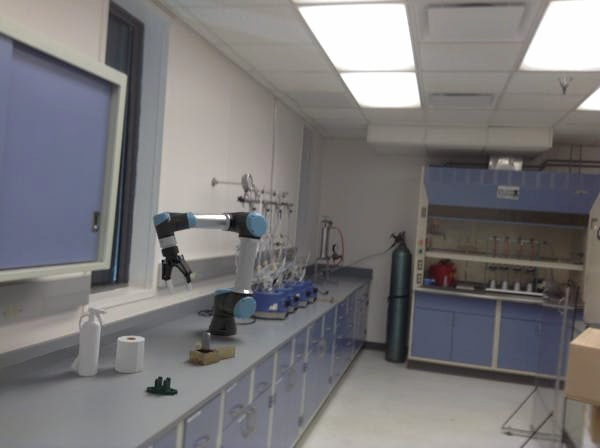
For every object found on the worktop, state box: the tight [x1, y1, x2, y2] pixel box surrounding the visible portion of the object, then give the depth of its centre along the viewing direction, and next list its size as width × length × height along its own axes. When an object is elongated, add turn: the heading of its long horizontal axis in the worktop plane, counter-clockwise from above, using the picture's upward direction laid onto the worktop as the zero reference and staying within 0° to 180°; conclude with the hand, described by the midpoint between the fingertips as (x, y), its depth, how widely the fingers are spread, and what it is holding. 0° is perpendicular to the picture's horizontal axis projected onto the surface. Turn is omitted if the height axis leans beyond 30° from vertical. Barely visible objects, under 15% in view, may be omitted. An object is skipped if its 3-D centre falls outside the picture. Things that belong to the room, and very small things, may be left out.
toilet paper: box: [114, 335, 146, 374], centre depth 205 cm, size 10×10×12 cm
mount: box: [146, 375, 179, 396], centre depth 184 cm, size 11×4×5 cm, turn 85°
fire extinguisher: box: [70, 306, 109, 377], centre depth 196 cm, size 7×12×25 cm, turn 77°
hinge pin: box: [201, 331, 212, 353], centre depth 225 cm, size 4×4×12 cm
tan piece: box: [189, 341, 236, 366], centre depth 232 cm, size 20×18×4 cm
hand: (181, 292), depth 239 cm, fingers open, 13 cm apart
